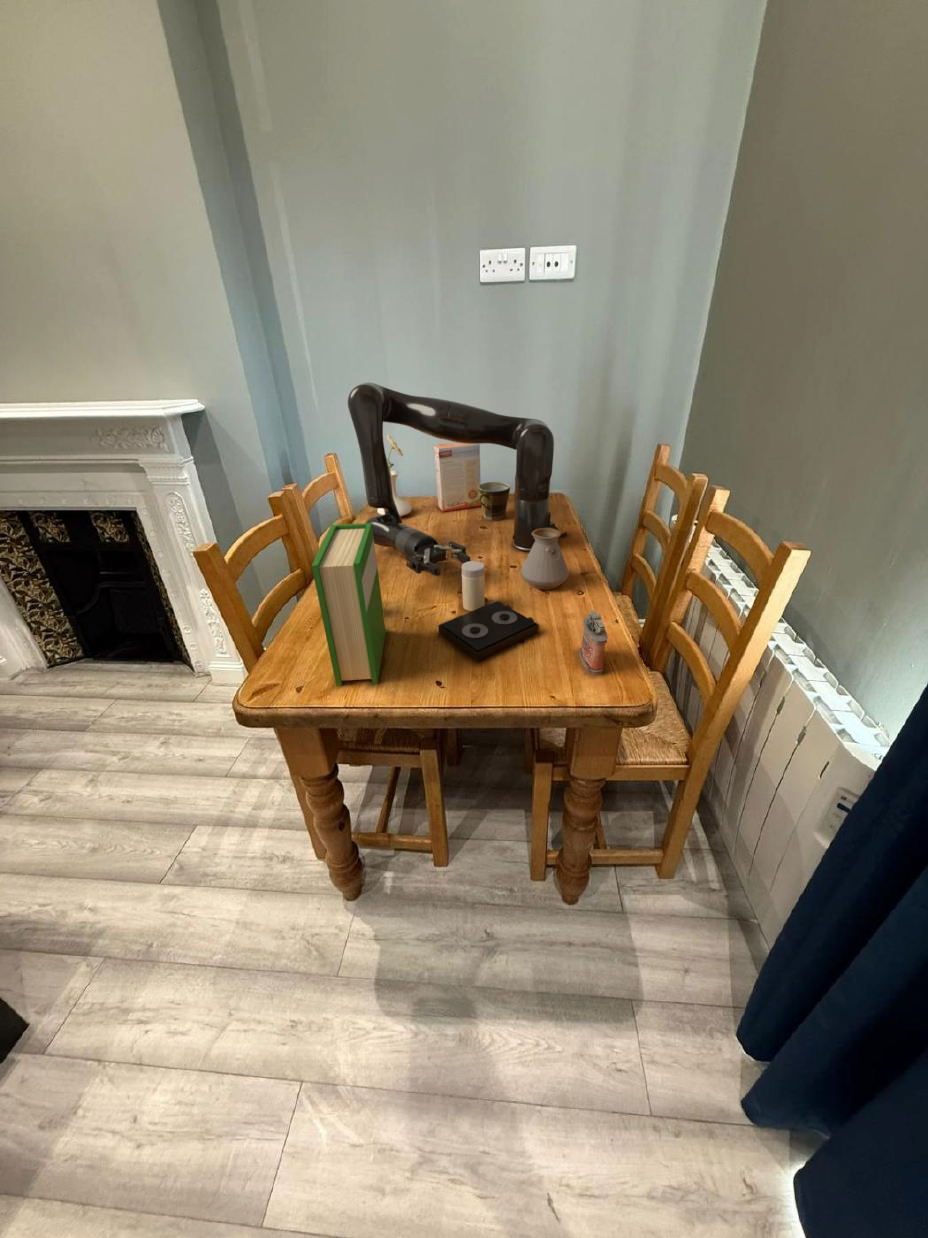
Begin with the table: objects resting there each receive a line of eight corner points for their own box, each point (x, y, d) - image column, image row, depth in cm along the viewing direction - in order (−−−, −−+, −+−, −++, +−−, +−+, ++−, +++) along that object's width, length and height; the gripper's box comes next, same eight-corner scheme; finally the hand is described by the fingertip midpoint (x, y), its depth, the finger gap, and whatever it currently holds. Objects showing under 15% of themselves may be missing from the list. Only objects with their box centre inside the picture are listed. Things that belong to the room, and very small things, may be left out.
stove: (500, 607, 113) (500, 596, 112) (541, 631, 104) (542, 619, 103) (438, 634, 105) (437, 622, 103) (477, 662, 96) (477, 650, 94)
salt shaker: (475, 598, 117) (474, 558, 112) (489, 606, 114) (489, 566, 109) (458, 605, 115) (456, 565, 110) (471, 613, 111) (470, 573, 106)
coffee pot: (519, 571, 128) (520, 515, 120) (564, 571, 127) (569, 514, 120) (523, 615, 110) (525, 552, 102) (576, 615, 109) (583, 551, 101)
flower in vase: (410, 520, 163) (403, 439, 150) (375, 520, 163) (365, 440, 150) (414, 506, 174) (407, 430, 161) (381, 507, 174) (372, 431, 161)
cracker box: (475, 501, 177) (474, 439, 166) (481, 506, 172) (480, 443, 161) (437, 506, 173) (433, 443, 162) (442, 512, 168) (438, 447, 157)
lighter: (576, 650, 98) (580, 605, 93) (593, 649, 98) (598, 604, 93) (588, 675, 91) (594, 629, 86) (606, 674, 91) (613, 627, 86)
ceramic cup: (489, 509, 169) (489, 480, 164) (515, 515, 164) (516, 484, 158) (467, 521, 160) (466, 490, 155) (493, 527, 155) (493, 495, 150)
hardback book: (377, 683, 91) (359, 563, 79) (336, 685, 91) (311, 565, 78) (385, 631, 106) (371, 522, 94) (350, 632, 106) (331, 524, 94)
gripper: (390, 539, 121) (427, 560, 110) (438, 524, 128) (478, 543, 117) (393, 567, 125) (429, 590, 114) (440, 551, 132) (478, 572, 121)
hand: (454, 566), depth 116 cm, fingers open, 8 cm apart
